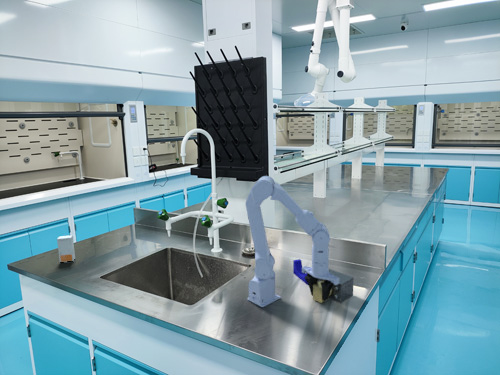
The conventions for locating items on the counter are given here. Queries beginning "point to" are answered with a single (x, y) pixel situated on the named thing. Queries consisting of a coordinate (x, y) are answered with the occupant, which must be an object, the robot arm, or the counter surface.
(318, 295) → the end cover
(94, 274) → the counter surface
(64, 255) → the skincare box
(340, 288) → the block
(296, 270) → the cable clip
